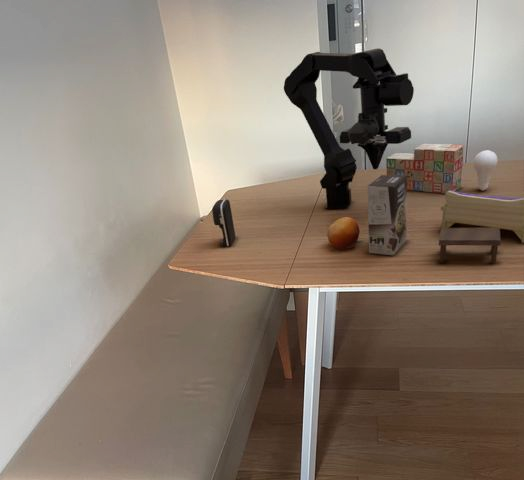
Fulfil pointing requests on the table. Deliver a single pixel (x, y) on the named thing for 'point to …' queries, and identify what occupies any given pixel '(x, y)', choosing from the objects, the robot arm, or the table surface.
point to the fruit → (343, 233)
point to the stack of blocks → (429, 167)
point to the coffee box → (387, 214)
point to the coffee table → (469, 239)
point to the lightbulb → (485, 167)
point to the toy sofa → (484, 211)
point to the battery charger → (224, 221)
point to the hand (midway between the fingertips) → (375, 169)
